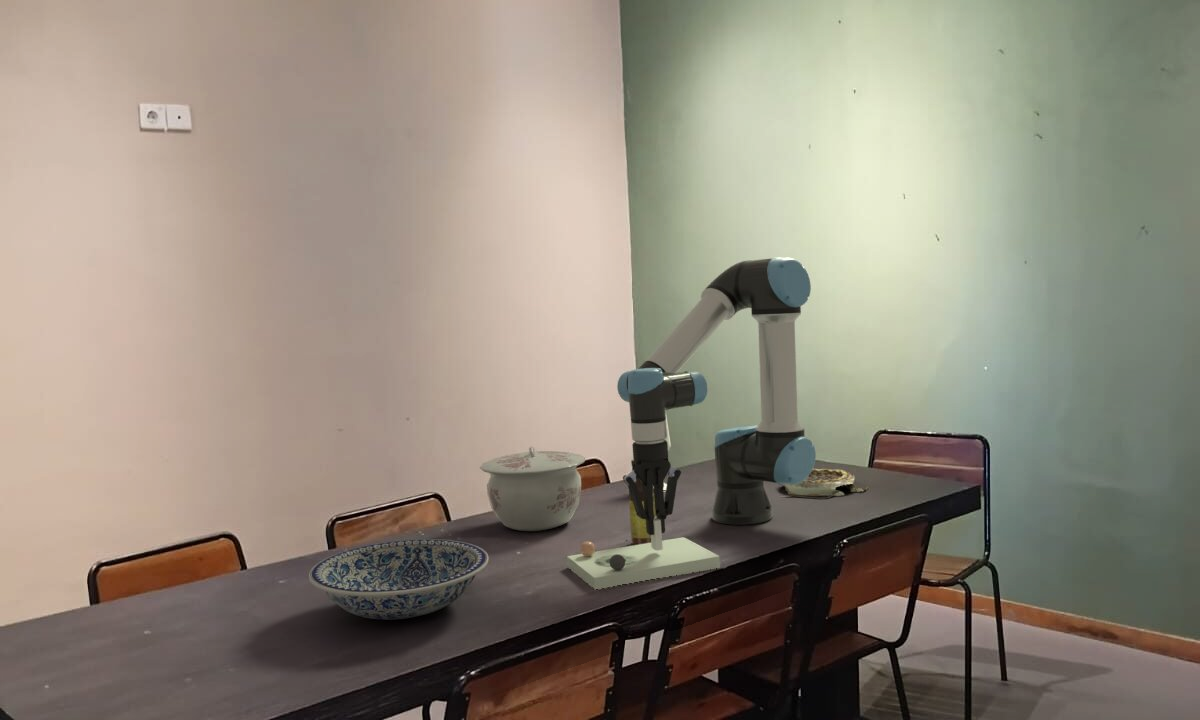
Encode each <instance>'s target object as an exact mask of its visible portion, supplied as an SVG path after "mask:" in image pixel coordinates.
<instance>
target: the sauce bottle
mask: <svg viewBox="0 0 1200 720" xmlns="http://www.w3.org/2000/svg"><path fill="white" fill-rule="evenodd" d="M633 465H634V459H633V458H632V459H631V467H633ZM635 483H636V485H637V488H638V491H639V494H640V497H641V501H642V504H643V507H644V499H643V488H642V482H641V481H640V480H639V479H638V478H637V476H636V482H635ZM628 494H629V496H628V497H629V498H628V503H629V505H628V506H629V522H630V534H631V535H630V536H631V543H632V545H639V544H645V543H651V535H649V534H647V531H646V520H645V519H642V518H640V517H638V516H637V514H636V511H635V507H634V504H633V501H632V498H631V495H630V491H629V490H628ZM652 494H653V509H654V518H655V517H656V518H657V516H656V512H655V498H654V487H653V489H652Z"/></svg>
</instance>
